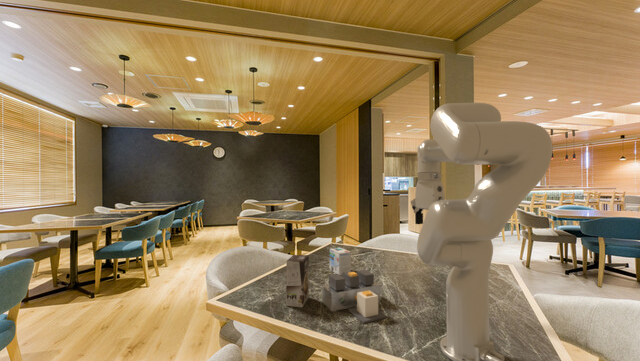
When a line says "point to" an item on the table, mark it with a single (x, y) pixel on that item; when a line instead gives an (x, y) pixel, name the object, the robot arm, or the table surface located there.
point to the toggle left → (337, 282)
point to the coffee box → (297, 280)
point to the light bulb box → (340, 260)
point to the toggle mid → (351, 278)
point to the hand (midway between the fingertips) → (429, 225)
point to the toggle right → (365, 277)
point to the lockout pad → (367, 319)
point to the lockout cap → (367, 303)
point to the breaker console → (346, 295)
